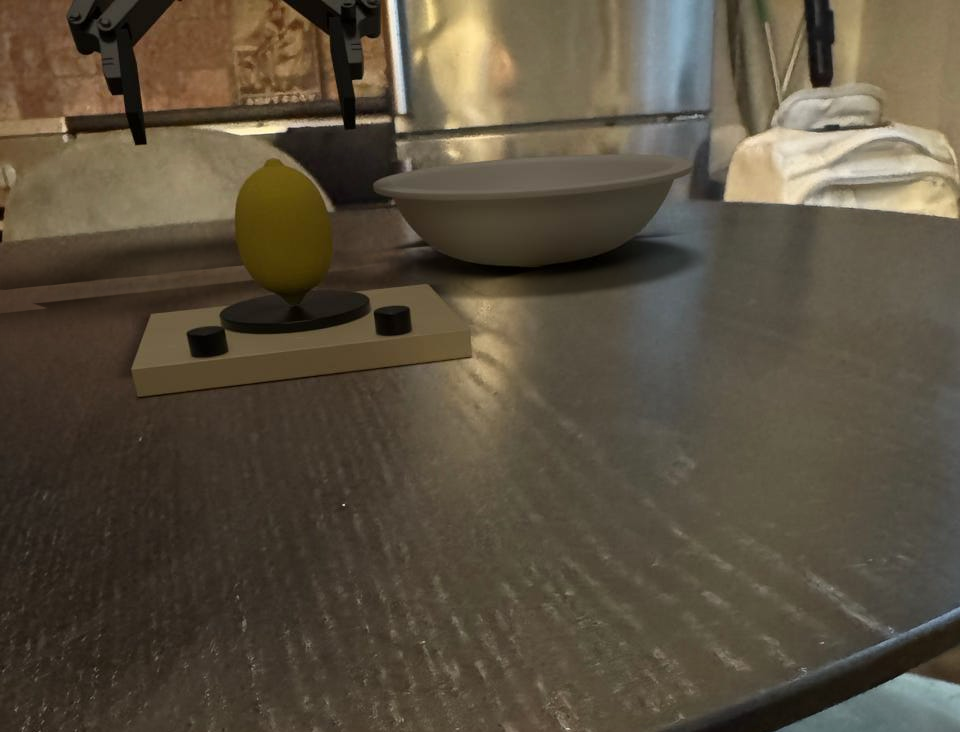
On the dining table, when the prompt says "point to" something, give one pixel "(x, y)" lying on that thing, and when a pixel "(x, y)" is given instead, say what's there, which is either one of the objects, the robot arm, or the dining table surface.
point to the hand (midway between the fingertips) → (245, 122)
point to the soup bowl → (534, 205)
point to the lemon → (283, 231)
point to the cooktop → (296, 338)
